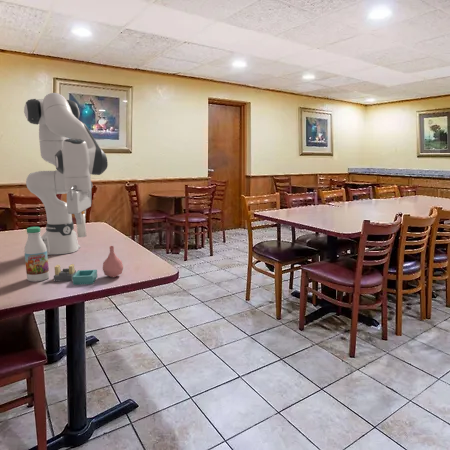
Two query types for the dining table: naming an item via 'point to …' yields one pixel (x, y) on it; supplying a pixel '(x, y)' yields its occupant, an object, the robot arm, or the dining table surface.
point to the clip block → (64, 273)
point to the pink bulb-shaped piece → (112, 264)
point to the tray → (84, 277)
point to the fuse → (82, 226)
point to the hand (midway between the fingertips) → (81, 222)
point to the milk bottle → (36, 256)
